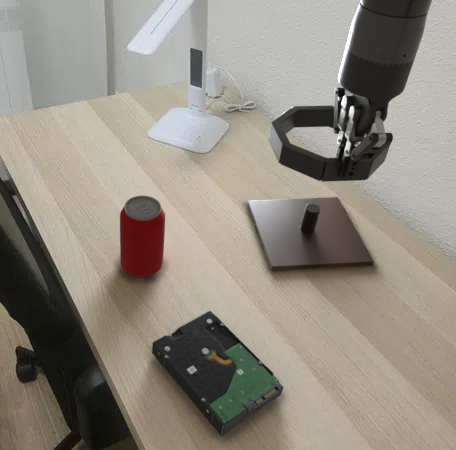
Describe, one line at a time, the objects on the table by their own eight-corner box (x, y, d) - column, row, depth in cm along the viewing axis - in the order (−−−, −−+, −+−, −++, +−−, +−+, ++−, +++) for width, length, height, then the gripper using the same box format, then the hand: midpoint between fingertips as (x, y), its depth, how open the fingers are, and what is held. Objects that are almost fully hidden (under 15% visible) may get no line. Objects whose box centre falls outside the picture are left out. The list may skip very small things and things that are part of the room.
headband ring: (356, 122, 85) (362, 104, 83) (398, 179, 74) (405, 160, 72) (260, 124, 84) (263, 106, 82) (287, 182, 72) (292, 164, 70)
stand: (336, 200, 102) (344, 176, 99) (372, 265, 90) (382, 240, 86) (247, 203, 101) (251, 179, 97) (270, 270, 88) (276, 244, 84)
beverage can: (144, 245, 92) (146, 187, 84) (171, 267, 88) (175, 209, 80) (112, 262, 88) (110, 203, 80) (138, 287, 84) (139, 228, 76)
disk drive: (150, 355, 75) (222, 439, 66) (150, 342, 73) (224, 426, 64) (208, 321, 80) (282, 395, 71) (209, 308, 78) (286, 382, 69)
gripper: (442, 73, 57) (391, 205, 68) (388, 24, 67) (352, 146, 78) (372, 74, 56) (332, 207, 68) (329, 25, 67) (300, 147, 78)
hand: (343, 174), depth 73 cm, fingers closed on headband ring, 1 cm apart
